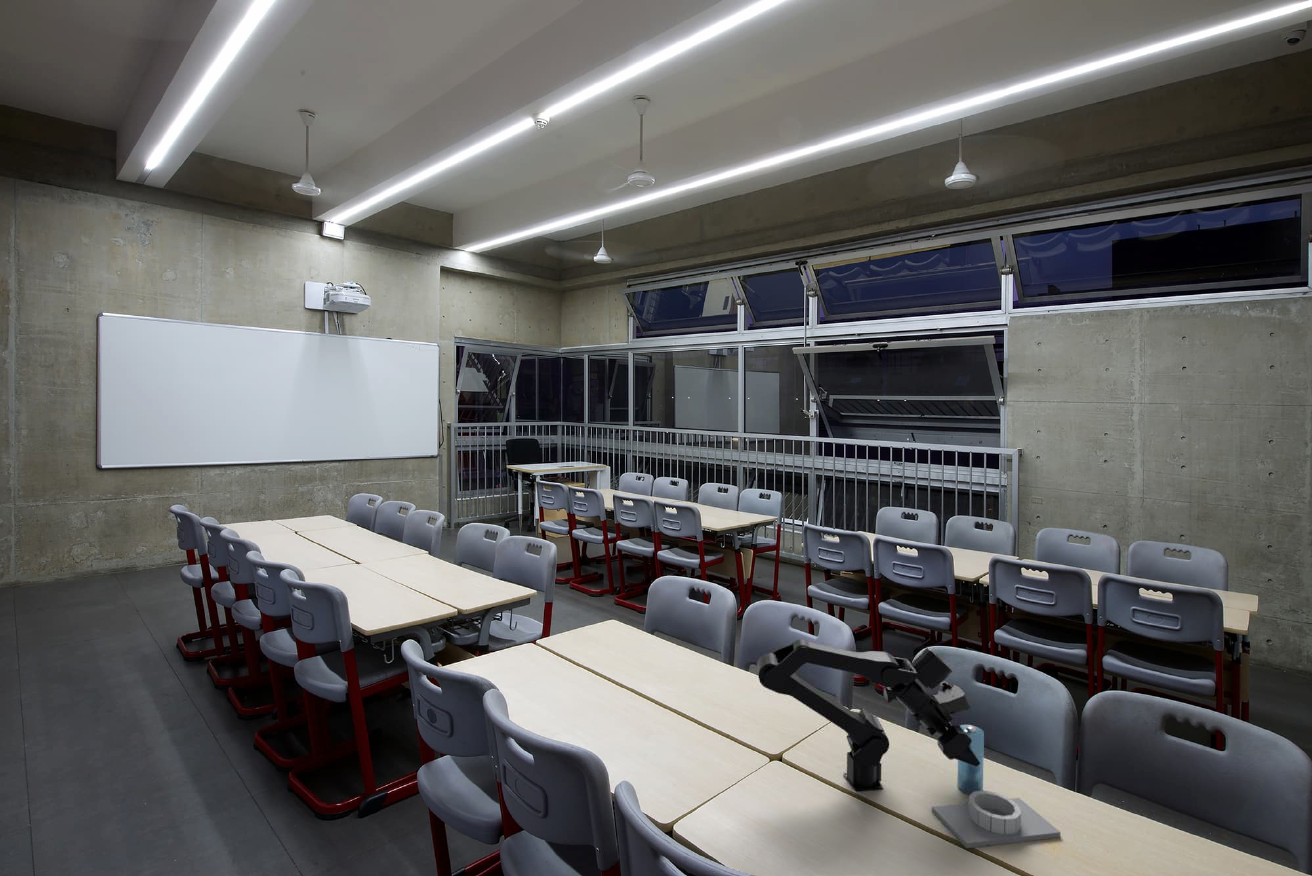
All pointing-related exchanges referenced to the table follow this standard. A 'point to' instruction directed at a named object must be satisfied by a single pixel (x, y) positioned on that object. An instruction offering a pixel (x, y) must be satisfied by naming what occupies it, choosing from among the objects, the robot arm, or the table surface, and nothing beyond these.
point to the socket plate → (989, 838)
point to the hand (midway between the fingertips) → (969, 753)
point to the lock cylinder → (967, 773)
